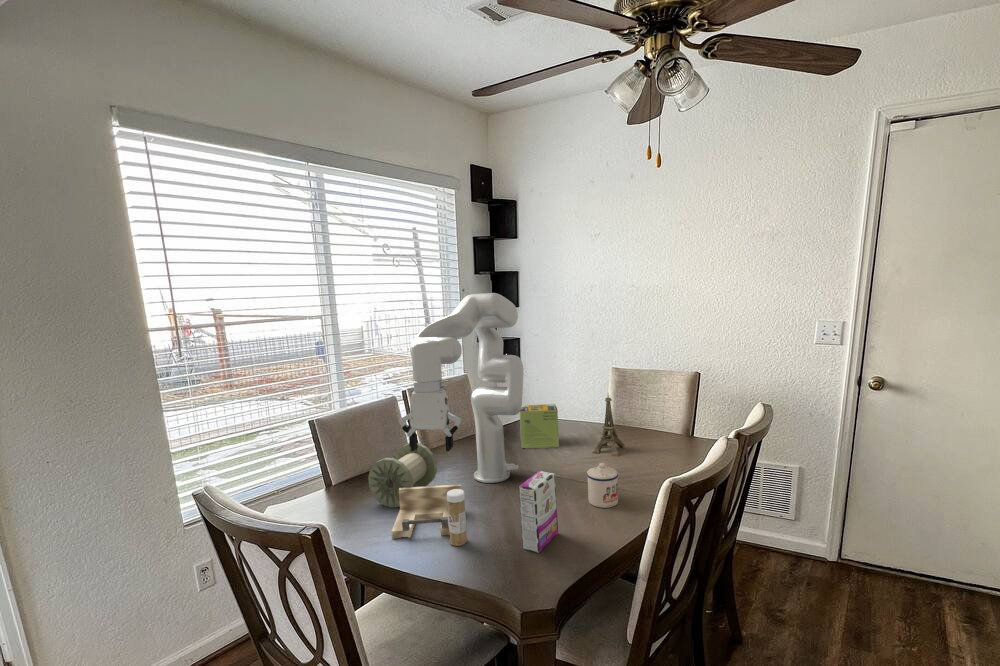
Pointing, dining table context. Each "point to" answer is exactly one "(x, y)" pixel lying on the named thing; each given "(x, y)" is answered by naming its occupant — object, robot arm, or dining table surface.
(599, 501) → the teacup with lid
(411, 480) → the spool
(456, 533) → the sprinkles bottle
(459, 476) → the dining table surface
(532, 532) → the candy bar box
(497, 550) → the dining table surface
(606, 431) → the eiffel tower
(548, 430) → the protein box
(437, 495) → the wooden stand
